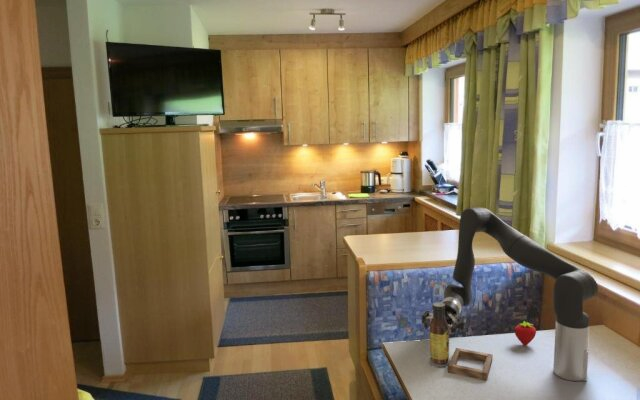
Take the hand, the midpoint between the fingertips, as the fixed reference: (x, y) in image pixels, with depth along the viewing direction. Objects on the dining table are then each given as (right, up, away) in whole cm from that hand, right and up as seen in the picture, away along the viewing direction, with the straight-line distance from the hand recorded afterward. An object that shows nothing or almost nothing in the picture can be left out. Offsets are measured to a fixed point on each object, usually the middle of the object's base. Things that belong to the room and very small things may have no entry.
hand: (439, 328), depth 155 cm
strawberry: (+34, -10, +13) cm, 38 cm away
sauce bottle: (+1, -12, +3) cm, 12 cm away
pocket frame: (+10, -12, -1) cm, 16 cm away
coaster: (+1, -12, +3) cm, 13 cm away
